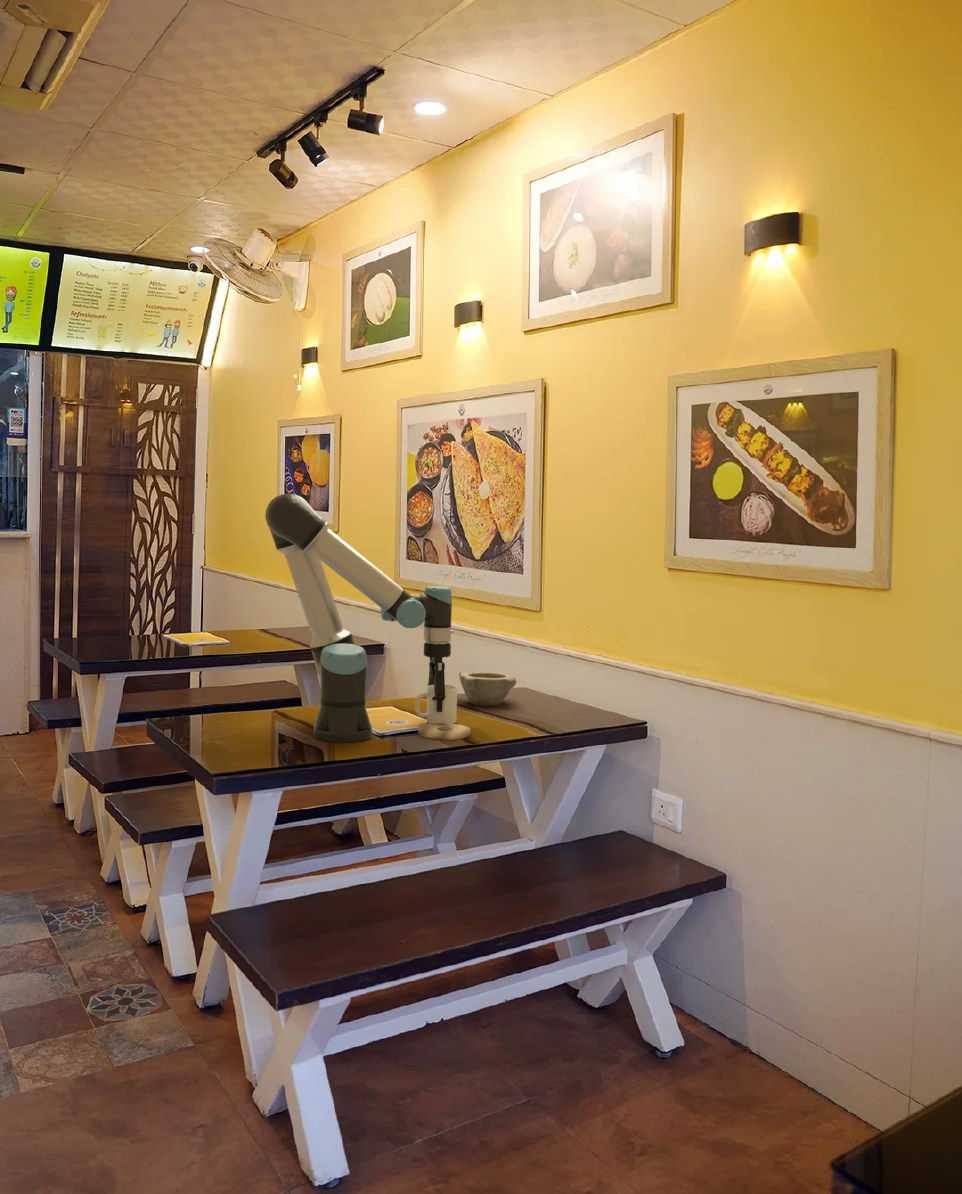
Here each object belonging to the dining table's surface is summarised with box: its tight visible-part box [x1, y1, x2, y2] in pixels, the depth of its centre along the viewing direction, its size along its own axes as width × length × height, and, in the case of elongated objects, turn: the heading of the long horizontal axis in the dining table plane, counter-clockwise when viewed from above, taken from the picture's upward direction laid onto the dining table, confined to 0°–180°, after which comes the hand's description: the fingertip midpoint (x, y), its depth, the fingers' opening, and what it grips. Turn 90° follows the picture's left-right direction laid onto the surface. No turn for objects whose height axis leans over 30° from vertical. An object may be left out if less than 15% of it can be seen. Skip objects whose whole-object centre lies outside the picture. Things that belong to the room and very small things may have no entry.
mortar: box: [458, 670, 517, 707], centre depth 309 cm, size 17×17×9 cm
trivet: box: [417, 723, 472, 741], centre depth 267 cm, size 14×14×1 cm
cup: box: [414, 684, 458, 724], centre depth 279 cm, size 8×12×10 cm
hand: (435, 718), depth 279 cm, fingers open, 12 cm apart
